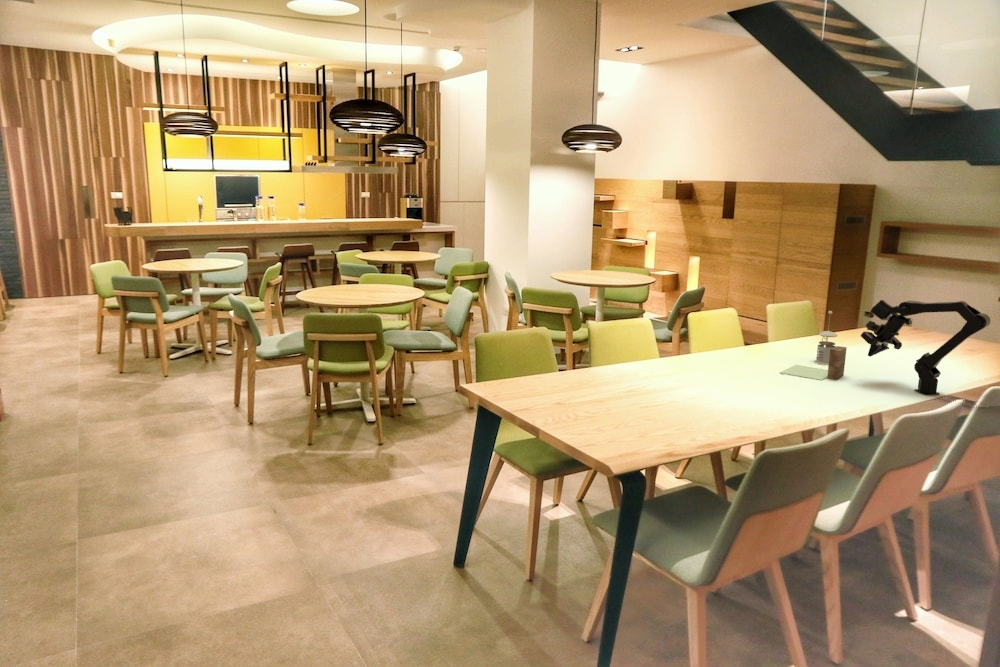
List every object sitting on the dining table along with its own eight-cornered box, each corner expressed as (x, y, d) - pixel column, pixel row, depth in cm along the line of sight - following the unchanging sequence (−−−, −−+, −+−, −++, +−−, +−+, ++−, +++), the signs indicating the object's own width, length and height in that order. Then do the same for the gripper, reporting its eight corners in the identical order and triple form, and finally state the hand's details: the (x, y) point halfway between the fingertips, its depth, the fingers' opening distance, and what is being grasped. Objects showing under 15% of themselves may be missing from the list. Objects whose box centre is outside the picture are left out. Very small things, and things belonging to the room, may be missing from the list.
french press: (815, 364, 326) (821, 312, 321) (811, 358, 337) (816, 308, 332) (838, 365, 324) (844, 313, 319) (833, 360, 335) (838, 309, 330)
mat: (836, 372, 313) (836, 371, 312) (821, 380, 298) (821, 379, 298) (795, 365, 324) (796, 364, 324) (779, 373, 310) (779, 372, 310)
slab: (843, 376, 306) (846, 347, 303) (836, 380, 299) (840, 350, 296) (833, 374, 308) (836, 346, 306) (827, 378, 302) (830, 349, 299)
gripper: (894, 318, 297) (872, 346, 305) (864, 312, 289) (841, 341, 297) (912, 334, 288) (888, 362, 296) (881, 328, 281) (858, 357, 289)
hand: (869, 355), depth 295 cm, fingers closed
